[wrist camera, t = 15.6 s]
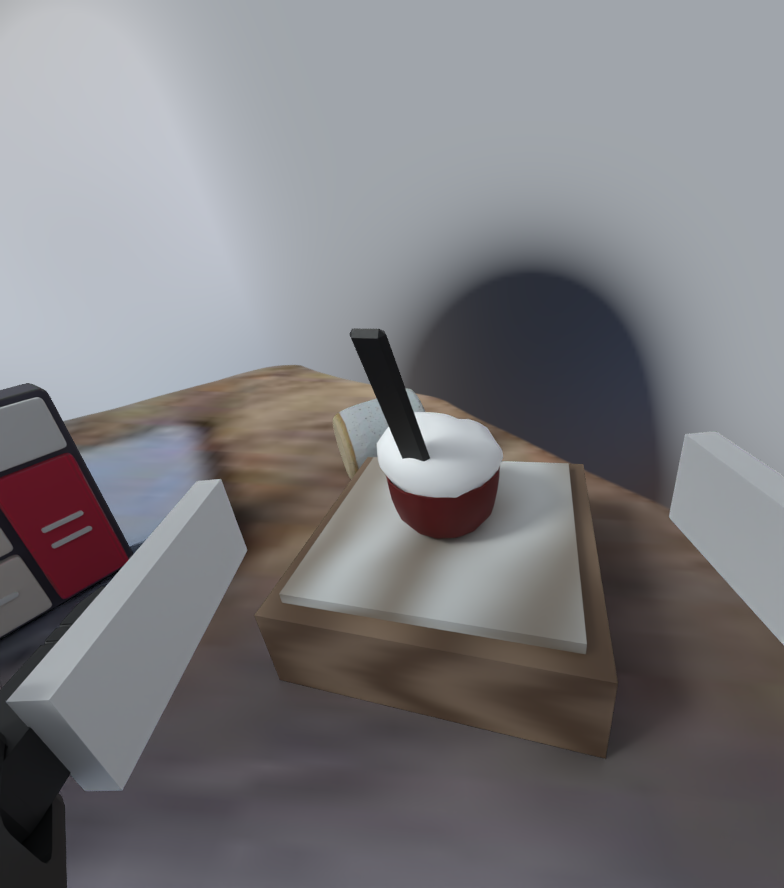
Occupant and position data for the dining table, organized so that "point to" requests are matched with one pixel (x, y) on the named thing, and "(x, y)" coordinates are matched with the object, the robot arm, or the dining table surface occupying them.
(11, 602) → the calculator
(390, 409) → the cocoa
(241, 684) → the dining table surface
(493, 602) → the walnut stand
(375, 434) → the ceramic mug
